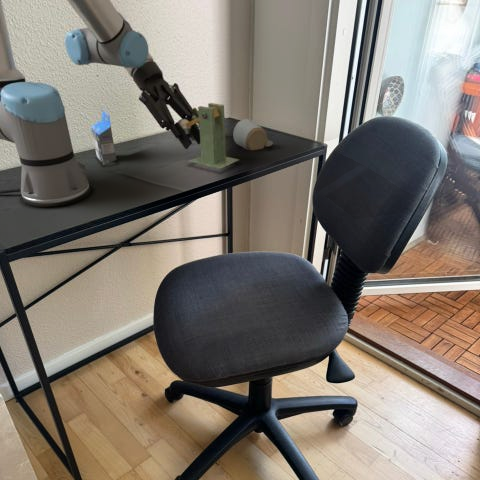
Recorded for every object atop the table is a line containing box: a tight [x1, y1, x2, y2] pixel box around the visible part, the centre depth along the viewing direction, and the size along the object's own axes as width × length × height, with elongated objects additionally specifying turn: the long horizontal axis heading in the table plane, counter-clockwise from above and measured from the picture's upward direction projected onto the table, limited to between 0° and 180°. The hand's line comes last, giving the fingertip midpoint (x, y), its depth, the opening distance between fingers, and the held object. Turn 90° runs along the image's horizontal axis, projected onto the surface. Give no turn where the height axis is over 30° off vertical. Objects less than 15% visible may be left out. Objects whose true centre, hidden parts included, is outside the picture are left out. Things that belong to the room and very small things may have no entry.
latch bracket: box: [188, 102, 240, 170], centre depth 122 cm, size 11×8×15 cm
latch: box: [177, 106, 220, 135], centre depth 123 cm, size 14×4×4 cm, turn 54°
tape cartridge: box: [90, 109, 117, 166], centre depth 127 cm, size 9×4×12 cm, turn 27°
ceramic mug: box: [232, 118, 274, 151], centre depth 135 cm, size 11×8×8 cm
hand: (195, 143), depth 127 cm, fingers open, 4 cm apart
